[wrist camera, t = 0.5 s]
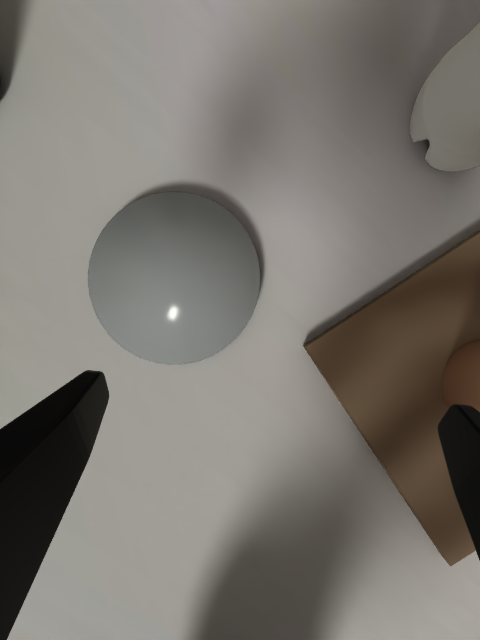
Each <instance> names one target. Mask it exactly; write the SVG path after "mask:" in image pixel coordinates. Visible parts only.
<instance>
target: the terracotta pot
mask: <svg viewBox="0 0 480 640" xmlns="http://www.w3.org/2000/svg"><path fill="white" fill-rule="evenodd" d="M442 394H443V398H444V401H445V403H446V405H447V407H448V409H449V407H450V406H451V405H453V404H461V405H469V406H472V407H474V408H475V409H476V410H478V411H479V412H480V339H477V340H474V341H471V342H469V343H467V344H465V345H463V346H462V347H460V348H459V349H458V350H457V351H456V352H455V353H454V354H453V355H452V356H451V357H450V359H449V360H448V362H447V364H446V366H445V369H444V372H443V375H442Z"/></svg>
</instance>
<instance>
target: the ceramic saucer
mask: <svg viewBox="0 0 480 640" xmlns="http://www.w3.org/2000/svg"><path fill="white" fill-rule="evenodd" d="M88 287H89V295H90V299H91V302H92V306H93V308H94V311H95V313H96V316H97V318H98V319H99V321H100V323H101V325H102V326H103V328H104V329H105V330H106V332H107V333H108V334H109V335H110V336H111V337H112V338H113V339H114V340H115V342H116V343H118V344H119V345H120V346H121V347H123V348H124V349H125V350H127V351H129V352H130V353H132V354H134V355H135V356H138V357H140V358H143V359H145V360H148V361H152V362H155V363H161V364H187V363H192V362H196V361H200V360H203V359H205V358H208V357H210V356H212V355H214V354H216V353H218V352H219V351H221V350H222V349H224V348H225V347H226V346H228V345H229V344H230V343H231V342H232V341H233V340H234V339H235V338H236V337H237V336H238V335H239V334H240V333H241V332H242V330H243V329H244V328H245V326H246V325H247V323H248V321H249V320H250V318H251V316H252V313H253V311H254V309H255V306H256V303H257V299H258V295H259V288H260V268H259V261H258V257H257V253H256V250H255V247H254V245H253V242H252V240H251V238H250V236H249V235H248V233H247V231H246V230H245V228H244V227H243V226H242V224H241V223H240V222H239V221H238V220H237V219H236V218H235V217H234V216H233V215H232V214H231V213H230V212H229V211H228V210H226V209H225V208H224V207H223V206H221V205H219V204H218V203H216V202H214V201H212V200H210V199H208V198H205V197H203V196H200V195H196V194H192V193H186V192H163V193H156V194H153V195H149V196H146V197H143V198H141V199H138V200H136V201H134V202H133V203H131V204H129V205H127V206H126V207H125V208H123V209H122V210H121V211H119V212H118V213H117V214H116V215H115V216H114V217H113V218H112V219H111V220H110V221H109V222H108V223H107V225H106V226H105V227H104V229H103V230H102V232H101V233H100V235H99V237H98V239H97V241H96V243H95V245H94V248H93V250H92V254H91V258H90V262H89V269H88Z"/></svg>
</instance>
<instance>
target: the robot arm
mask: <svg viewBox="0 0 480 640" xmlns="http://www.w3.org/2000/svg"><path fill="white" fill-rule="evenodd" d="M108 400H109V391H108V387H107V383H106V379H105V376H104V374H103V372H101V371H91V370H87V371H84V372H83V373H81V374H80V375H78V376H77V377H75V378H74V379H73V380H71V381H70V382H68V383H67V384H65V385H64V386H62V387H61V388H59V389H58V390H57V391H55V392H54V393H52V394H51V395H49V396H48V397H46V398H45V399H43V400H42V401H41V402H39V403H38V404H36V405H35V406H33V407H32V408H30V409H29V410H27V411H26V412H25V413H23V414H22V415H20V416H19V417H17V418H16V419H14V420H13V421H11V422H10V423H9V424H7V425H6V426H4V427H3V428H1V429H0V640H7V638H8V636H9V634H10V631H11V629H12V627H13V625H14V623H15V620H16V618H17V616H18V614H19V612H20V609H21V607H22V605H23V603H24V601H25V598H26V596H27V594H28V592H29V590H30V587H31V585H32V583H33V581H34V579H35V576H36V574H37V572H38V570H39V568H40V565H41V563H42V561H43V559H44V557H45V554H46V552H47V550H48V548H49V546H50V543H51V541H52V539H53V537H54V535H55V532H56V530H57V528H58V526H59V524H60V521H61V519H62V517H63V515H64V513H65V510H66V508H67V506H68V504H69V502H70V499H71V497H72V495H73V493H74V491H75V488H76V486H77V484H78V482H79V480H80V477H81V475H82V473H83V471H84V469H85V466H86V464H87V462H88V459H89V457H90V454H91V452H92V449H93V446H94V443H95V440H96V437H97V434H98V431H99V428H100V425H101V422H102V419H103V416H104V413H105V410H106V407H107V404H108ZM438 435H439V439H440V443H441V446H442V450H443V454H444V458H445V461H446V465H447V469H448V472H449V476H450V480H451V483H452V487H453V490H454V493H455V496H456V499H457V502H458V504H459V507H460V510H461V512H462V515H463V518H464V520H465V523H466V525H467V528H468V531H469V533H470V536H471V539H472V541H473V544H474V547H475V549H476V552H477V555H478V557H479V560H480V412H479V411H478V410H476V409H475V408H474V407H472V406H469V405H461V404H453V405H451V406H450V407H449V409H448V410H447V411H446V413H445V414H444V416H443V417H442V419H441V420H440V422H439V424H438Z"/></svg>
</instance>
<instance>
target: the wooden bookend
mask: <svg viewBox="0 0 480 640" xmlns="http://www.w3.org/2000/svg"><path fill="white" fill-rule="evenodd" d="M477 339H480V230H479V231H477V232H476V233H474V234H473V235H471V236H470V237H468V238H467V239H465V240H464V241H462V242H461V243H459V244H458V245H456V246H455V247H453V248H451V249H450V250H448V251H447V252H445V253H444V254H442V255H441V256H439V257H438V258H436V259H435V260H433V261H432V262H430V263H429V264H427V265H426V266H424V267H422V268H421V269H419V270H418V271H416V272H415V273H413V274H412V275H410V276H409V277H407V278H406V279H404V280H403V281H401V282H400V283H398V284H397V285H395V286H393V287H392V288H390V289H389V290H387V291H386V292H384V293H383V294H381V295H380V296H378V297H377V298H375V299H374V300H372V301H371V302H369V303H368V304H366V305H364V306H363V307H361V308H360V309H358V310H357V311H355V312H354V313H352V314H351V315H349V316H348V317H346V318H345V319H343V320H342V321H340V322H339V323H337V324H335V325H334V326H332V327H331V328H329V329H328V330H326V331H325V332H323V333H322V334H320V335H319V336H317V337H316V338H314V339H313V340H311V341H310V342H308V343H306V344H305V345H303V346H304V348H305V349H306V351H307V353H308V354H309V356H310V357H311V359H312V360H313V362H314V363H315V365H316V366H317V368H318V369H319V371H320V372H321V374H322V375H323V377H324V378H325V380H326V381H327V383H328V384H329V386H330V387H331V389H332V390H333V392H334V393H335V395H336V396H337V398H338V399H339V401H340V402H341V404H342V406H343V407H344V409H345V410H346V412H347V413H348V415H349V416H350V418H351V419H352V421H353V422H354V424H355V425H356V427H357V428H358V430H359V431H360V433H361V434H362V436H363V437H364V439H365V440H366V442H367V443H368V445H369V446H370V448H371V449H372V451H373V452H374V454H375V455H376V457H377V459H378V460H379V462H380V463H381V465H382V466H383V468H384V469H385V471H386V472H387V474H388V475H389V477H390V478H391V480H392V481H393V483H394V484H395V486H396V487H397V489H398V490H399V492H400V493H401V495H402V496H403V498H404V499H405V501H406V502H407V504H408V505H409V507H410V508H411V510H412V512H413V513H414V515H415V516H416V518H417V519H418V521H419V522H420V524H421V525H422V527H423V528H424V530H425V531H426V533H427V534H428V536H429V537H430V539H431V540H432V542H433V543H434V545H435V546H436V548H437V549H438V551H439V552H440V554H441V555H442V557H443V558H444V559H445V560H446V561H447V563H448V564H449V565H450V566H452V565H453V564H455V563H457V562H458V561H460V560H461V559H463V558H464V557H466V556H468V555H469V554H471V553H472V552H474V551H475V550H476V549H475V547H474V544H473V541H472V539H471V536H470V533H469V531H468V528H467V525H466V523H465V520H464V518H463V515H462V512H461V510H460V507H459V504H458V502H457V499H456V496H455V493H454V490H453V487H452V483H451V480H450V476H449V472H448V469H447V465H446V461H445V458H444V454H443V450H442V446H441V443H440V439H439V435H438V424H439V422H440V420H441V419H442V417H443V416H444V414H445V413H446V411H447V410H448V407H447V405H446V403H445V401H444V398H443V394H442V375H443V372H444V369H445V366H446V364H447V362H448V360H449V359H450V357H451V356H452V355H453V354H454V353H455V352H456V351H457V350H458V349H459V348H460V347H462V346H463V345H465V344H467V343H469V342H471V341H474V340H477Z"/></svg>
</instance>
